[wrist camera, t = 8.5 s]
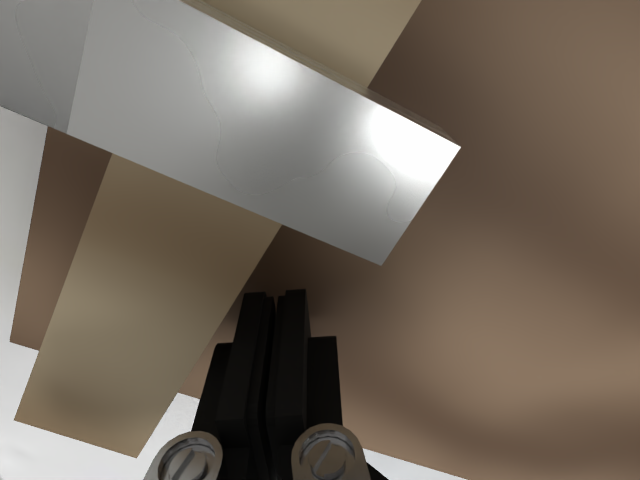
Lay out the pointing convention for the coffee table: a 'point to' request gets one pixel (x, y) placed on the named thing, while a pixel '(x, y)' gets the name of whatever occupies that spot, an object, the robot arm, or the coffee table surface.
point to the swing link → (174, 255)
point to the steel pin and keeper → (224, 114)
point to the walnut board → (462, 251)
